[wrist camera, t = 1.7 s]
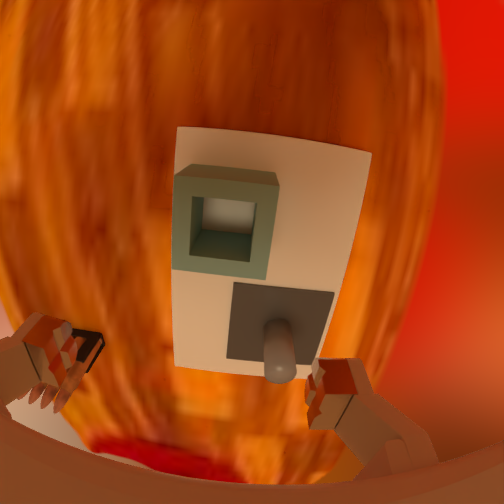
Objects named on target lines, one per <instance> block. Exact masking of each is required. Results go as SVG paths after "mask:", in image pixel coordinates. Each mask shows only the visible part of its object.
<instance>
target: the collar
mask: <svg viewBox="0 0 504 504" xmlns="http://www.w3.org/2000/svg"><path fill="white" fill-rule="evenodd" d="M279 190H280V185H279V182H278V179H277V176H276V173H275V172H268V171H260V170H251V169H242V168H233V167H223V166H213V165H201V164H190V165H188V166H187V167H185V168H184V169H183V170H181V171H180V172H178V173H177V174H175V175H174V186H173V211H172V269H174V270H182V271H190V272H198V273H206V274H214V275H223V276H231V277H240V278H249V279H258V280H266V275H267V268H268V262H269V256H270V249H271V243H272V236H273V230H274V223H275V217H276V210H277V203H278V197H279ZM204 197H207V198H216V199H226V200H235V201H244V202H253V203H255V209H254V217H253V225H252V233H251V234H242V233H233V232H224V231H215V230H206V229H202V217H203V202H204Z"/></svg>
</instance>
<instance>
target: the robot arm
mask: <svg viewBox="0 0 504 504" xmlns="http://www.w3.org/2000/svg"><path fill="white" fill-rule="evenodd" d="M72 332H73V330H72V327H71V323H69V322H68V321H65V320H61V319H58V318H54V317H51V316H48V315H44V314H41V313H38V312H35V313H32V314H31V315H30V317H29V318H28V319H27V320H26V321H25V322H24V323H23V324H22V325H21V326H20V327H19V329H18V330H17V331H16V332H15V333H14V334H13V336H11V337H5V338H3V339H1V340H0V504H504V440H503V441H501V442H499V443H497V444H494V445H492V446H489V447H486V448H484V449H481V450H479V451H476V452H473V453H470V454H468V455H465V456H462V457H459V458H456V459H452V460H449V461H446V462H443V463H439V461H438V459H437V456H436V453H435V451H434V448H433V445H432V443H431V441H430V438H429V435H428V433H427V432H426V431H424V430H423V429H422V428H420V427H419V426H418V425H417V424H415V423H414V422H413V421H411V420H410V419H409V418H407V417H406V416H405V415H404V414H403V413H401V412H400V411H399V410H398V409H396V408H395V407H394V406H393V405H391V404H390V403H389V402H387V401H386V400H385V399H384V398H383V397H381V396H380V395H379V394H374V392H373V390H372V387H371V384H370V381H369V379H368V376H367V373H366V371H365V368H364V365H363V363H362V360H361V359H360V358H345V359H344V358H315V359H314V360H313V362H312V365H311V368H312V373H311V374H310V375H308V377H307V380H306V384H305V403H306V404H307V405H308V406H309V409H308V412H307V418H308V425H309V429H318V430H332V429H335V430H334V431H335V432H336V433H337V435H338V436H339V437H340V438H341V439H342V441H343V442H344V443H345V444H346V445H347V446H348V448H349V449H350V450H351V451H352V452H353V453H354V455H355V456H356V457H357V458H358V459H359V460H360V462H361V463H362V464H363V465H364V466H365V467H364V468H363V469H362V470H361V471H360V473H359V474H358V475H357V476H356V477H355V478H354V479H353V481H346V482H336V483H323V484H303V485H264V484H243V483H231V482H220V481H211V480H203V479H196V478H190V477H184V476H178V475H172V474H167V473H162V472H157V471H153V470H148V469H144V468H140V467H135V466H132V465H128V464H124V463H120V462H117V461H114V460H110V459H107V458H104V457H101V456H97V455H95V454H92V453H89V452H86V451H83V450H80V449H78V448H75V447H72V446H70V445H67V444H64V443H62V442H60V441H57V440H55V439H52V438H50V437H48V436H45V435H43V434H41V433H39V432H37V431H35V430H32V429H30V428H28V427H26V426H24V425H22V424H20V423H18V422H16V421H14V420H12V417H11V414H10V412H9V411H8V409H7V408H6V405H7V404H9V403H10V402H12V401H13V400H15V399H16V398H18V397H19V396H21V395H22V394H24V393H25V392H27V391H28V390H30V389H31V388H33V387H34V386H36V385H37V384H39V383H40V381H42V382H44V383H47V384H50V385H53V386H56V387H60V386H61V384H62V382H63V380H64V379H65V377H66V376H67V372H66V369H67V368H69V367H71V366H73V364H74V362H75V360H76V356H77V344H76V341H75V340H74V338H73V337H72V336H71V334H72Z"/></svg>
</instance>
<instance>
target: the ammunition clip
mask: <svg viewBox="0 0 504 504" xmlns="http://www.w3.org/2000/svg"><path fill="white" fill-rule="evenodd" d="M72 330H73V332H72V334H71V336H72V337H73V338H74V340H75V341H76V344H77V356H76V360H75V362H74V364H73V366H71V367H69V368H67V369H66V372H67V376H66V377H65V379H64V380H63V382H62V384H61V386H60V387H56V386H53V385H50V384H47V383H44V382H42V381H40V383H39V384H37V385H36V386H34V387H33V388H32V390H31V393H30V396H29V404H32V403H33V402H34V401H36V400H37V399H38V398H39V397H40V395H41V394H42V392H43V391H44V389H45V388H46V387H47V388H46V390H45V392H44V394H43V396H42V400H41V409H43V408H45V407H46V406H47V405H48V404H49V403H50V402H51V401H52V400H53V398H54V397H55V395H56V393H57V392H58V391H59V389H60V391H59V393H58V395H57V397H56V400H55V403H54V413H57V412H59V411H60V410H61V409H62V408H63V407H64V405H65V404H66V402H67V401H68V399H69V397H70V396H71V394H72V393H73V391H74V390H75V389H76V388H77V386H78V385H79V383H80V381H81V379H82V377H83V376H84V374H85V373H88V372H89V370H90V368H91V367H92V365H93V363H94V362H95V360H96V359H97V357H98V355H99V354H100V352H101V351H102V349H103V347H104V346H105V343H104V340H103V337H102V334H101V333H99V332H92V331H86V330H80V329H74V328H72ZM47 385H48V386H47ZM29 391H30V390H28V391H27V392H25V393H24V394H22V395H21V396H19V397H18V398H17V399H18V400H20V399H21V398H23V397H24V396H25V395H26V394H27V393H28V392H29Z"/></svg>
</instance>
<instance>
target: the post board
mask: <svg viewBox="0 0 504 504" xmlns="http://www.w3.org/2000/svg"><path fill="white" fill-rule="evenodd" d="M371 157H372V153H370V152H367V151H363V150H359V149H354V148H349V147H344V146H339V145H334V144H329V143H324V142H318V141H312V140H306V139H300V138H294V137H287V136H280V135H273V134H265V133H257V132H248V131H239V130H229V129H217V128H204V127H187V126H179V127H177V137H176V150H175V164H174V175H175V174H177V173H178V172H180V171H181V170H183V169H184V168H185V167H187V166H188V165H190V164H201V165H213V166H223V167H233V168H242V169H251V170H260V171H268V172H275V173H276V176H277V179H278V182H279V185H280V190H279V197H278V203H277V210H276V217H275V223H274V230H273V236H272V243H271V249H270V256H269V262H268V268H267V275H266V280H258V279H249V278H240V277H231V276H223V275H214V274H206V273H198V272H190V271H182V270H174V269H172V246H171V280H172V322H173V344H174V362H175V366H180V367H187V368H194V369H201V370H208V371H216V372H225V373H234V374H243V375H254V376H265V378H266V379H267V380H268V381H270V382H272V383H277V384H282V383H287V382H289V381H291V380H292V379H294V378H302V379H307V377H308V375H310V374H311V373H312V368H311V365H312V362H313V360H314V359H315V358H318V357H319V355H320V352H321V349H322V346H323V343H324V340H325V337H326V334H327V331H328V328H329V325H330V322H331V318H332V315H333V312H334V309H335V305H336V302H337V299H338V295H339V292H340V289H341V285H342V282H343V278H344V275H345V271H346V267H347V264H348V260H349V256H350V252H351V248H352V245H353V241H354V237H355V232H356V228H357V224H358V220H359V216H360V211H361V207H362V202H363V198H364V193H365V188H366V183H367V178H368V173H369V168H370V163H371ZM173 186H174V182H173ZM254 209H255V203H253V202H244V201H235V200H226V199H216V198H207V197H204V202H203V217H202V229H206V230H215V231H224V232H233V233H242V234H251V233H252V225H253V217H254ZM172 211H173V204H172Z"/></svg>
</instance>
